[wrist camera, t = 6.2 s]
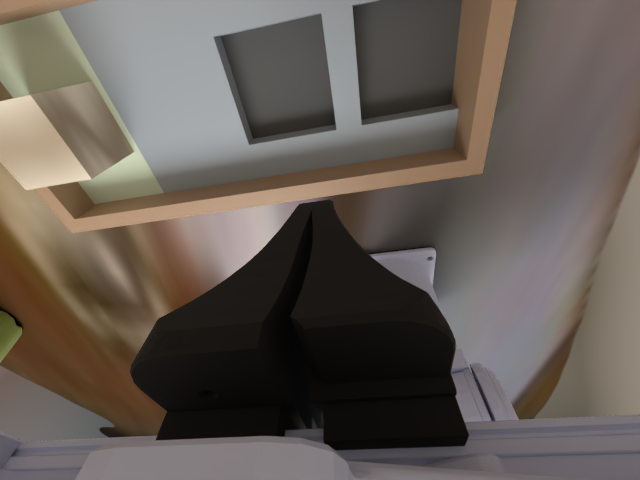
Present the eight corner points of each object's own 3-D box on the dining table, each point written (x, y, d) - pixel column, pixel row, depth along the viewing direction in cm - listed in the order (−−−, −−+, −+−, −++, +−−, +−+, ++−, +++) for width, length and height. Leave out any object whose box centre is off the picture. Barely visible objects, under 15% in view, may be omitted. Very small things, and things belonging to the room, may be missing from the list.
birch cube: (134, 151, 17) (91, 179, 14) (79, 161, 18) (25, 190, 15) (92, 80, 15) (30, 94, 12) (29, 94, 16) (-47, 111, 12)
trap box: (459, 152, 19) (482, 173, 16) (104, 207, 22) (72, 233, 19) (497, -129, 11) (552, -179, 9) (-40, 15, 15) (-126, 11, 12)
